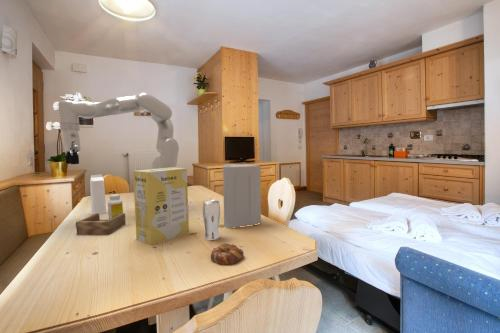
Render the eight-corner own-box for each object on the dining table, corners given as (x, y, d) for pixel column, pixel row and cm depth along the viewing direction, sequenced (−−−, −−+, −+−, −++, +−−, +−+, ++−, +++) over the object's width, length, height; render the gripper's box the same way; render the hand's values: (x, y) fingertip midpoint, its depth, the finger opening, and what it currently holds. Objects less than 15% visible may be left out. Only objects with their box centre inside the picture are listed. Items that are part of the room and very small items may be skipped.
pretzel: (206, 254, 89) (205, 244, 89) (235, 249, 94) (235, 239, 93) (215, 269, 78) (215, 257, 78) (248, 262, 83) (248, 251, 82)
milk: (106, 213, 144) (104, 174, 142) (94, 215, 140) (91, 175, 138) (103, 211, 149) (101, 173, 147) (91, 213, 145) (89, 174, 143)
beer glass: (223, 235, 106) (222, 200, 105) (215, 242, 100) (214, 204, 98) (208, 234, 109) (207, 199, 107) (200, 240, 102) (199, 203, 101)
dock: (125, 224, 123) (124, 213, 123) (108, 234, 109) (108, 222, 109) (96, 224, 123) (96, 213, 123) (76, 234, 109) (75, 222, 109)
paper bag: (211, 224, 122) (209, 166, 119) (231, 217, 134) (230, 164, 131) (243, 232, 111) (242, 168, 108) (261, 223, 123) (261, 165, 120)
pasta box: (174, 227, 118) (171, 167, 116) (188, 231, 112) (186, 168, 109) (136, 239, 103) (133, 170, 101) (151, 245, 97) (147, 172, 95)
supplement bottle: (126, 218, 133) (124, 194, 132) (114, 222, 127) (113, 196, 126) (117, 217, 136) (116, 193, 135) (105, 220, 130) (104, 195, 129)
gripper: (84, 126, 117) (86, 164, 119) (74, 128, 129) (76, 162, 131) (64, 126, 112) (67, 165, 113) (56, 128, 124) (58, 163, 125)
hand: (72, 163), depth 122 cm, fingers open, 9 cm apart
